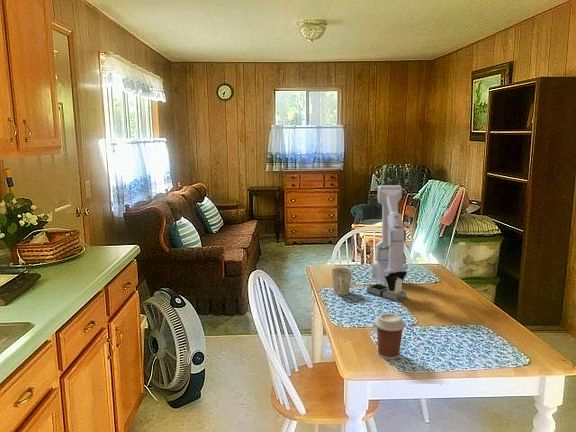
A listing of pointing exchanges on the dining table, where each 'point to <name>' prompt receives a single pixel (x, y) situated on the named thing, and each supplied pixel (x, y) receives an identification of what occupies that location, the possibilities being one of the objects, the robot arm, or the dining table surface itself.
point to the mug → (341, 280)
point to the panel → (385, 292)
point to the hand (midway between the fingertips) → (394, 289)
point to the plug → (397, 287)
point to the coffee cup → (389, 335)
